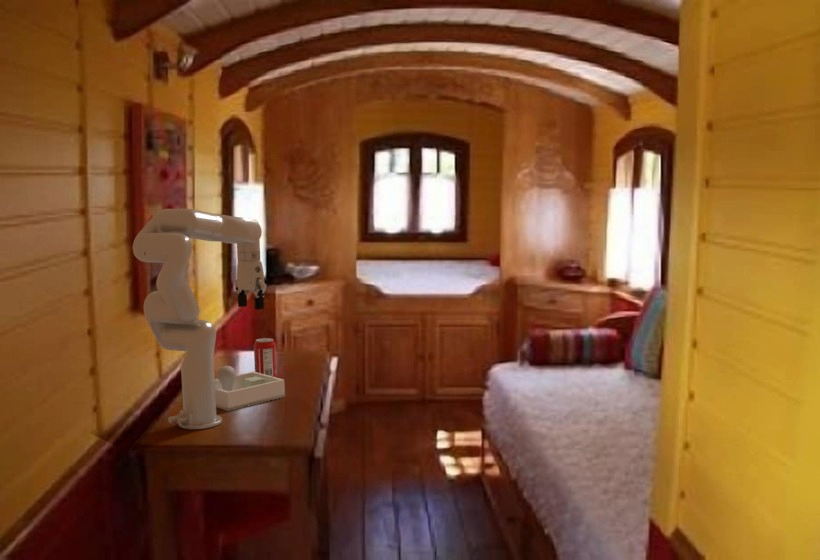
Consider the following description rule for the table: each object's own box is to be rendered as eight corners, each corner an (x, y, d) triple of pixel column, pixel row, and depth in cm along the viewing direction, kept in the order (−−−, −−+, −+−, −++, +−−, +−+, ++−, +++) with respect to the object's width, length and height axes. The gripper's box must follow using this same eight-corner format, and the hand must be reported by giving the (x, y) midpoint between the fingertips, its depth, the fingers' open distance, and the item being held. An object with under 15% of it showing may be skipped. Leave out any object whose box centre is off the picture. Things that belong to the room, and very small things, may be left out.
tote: (228, 411, 250) (227, 392, 249) (198, 401, 262) (197, 383, 262) (285, 397, 265) (284, 379, 265) (254, 388, 278) (253, 371, 277)
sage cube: (252, 395, 264) (251, 381, 263) (244, 393, 267) (243, 378, 267) (265, 393, 267) (264, 378, 266) (256, 390, 271) (256, 376, 270)
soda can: (267, 383, 284) (265, 342, 283) (250, 380, 288) (249, 340, 287) (281, 378, 291) (279, 338, 289) (265, 376, 295) (263, 336, 293)
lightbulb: (233, 401, 258) (231, 368, 256) (215, 400, 258) (213, 368, 257) (240, 396, 264) (238, 363, 262) (222, 395, 264) (220, 363, 263)
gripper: (273, 257, 258) (275, 308, 260) (243, 254, 270) (245, 304, 272) (254, 259, 253) (256, 311, 255) (224, 256, 265) (227, 306, 267)
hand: (250, 307), depth 264 cm, fingers open, 9 cm apart
